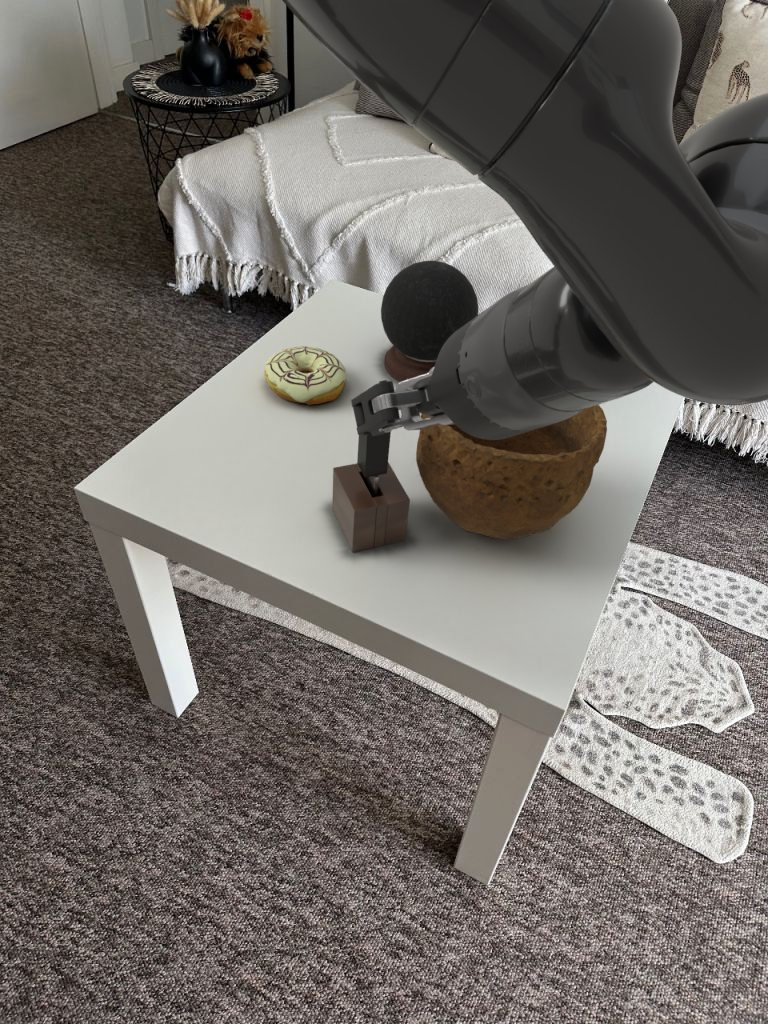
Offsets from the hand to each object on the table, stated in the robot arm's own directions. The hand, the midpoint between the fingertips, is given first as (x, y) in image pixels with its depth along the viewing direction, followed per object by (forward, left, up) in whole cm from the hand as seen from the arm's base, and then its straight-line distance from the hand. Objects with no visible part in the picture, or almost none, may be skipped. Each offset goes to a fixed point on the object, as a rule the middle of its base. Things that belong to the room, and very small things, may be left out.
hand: (423, 414), depth 56 cm
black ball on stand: (-10, +41, -22) cm, 48 cm away
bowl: (+6, +15, -22) cm, 27 cm away
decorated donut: (-23, +29, -22) cm, 43 cm away
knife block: (-6, +8, -22) cm, 24 cm away
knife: (-6, +8, -22) cm, 24 cm away
